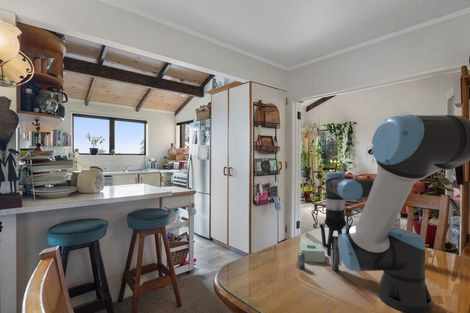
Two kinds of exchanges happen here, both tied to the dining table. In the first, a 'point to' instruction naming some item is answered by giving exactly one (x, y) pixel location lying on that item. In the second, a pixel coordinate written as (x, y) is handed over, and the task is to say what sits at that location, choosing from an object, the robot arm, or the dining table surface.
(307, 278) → the dining table surface
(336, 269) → the long pin
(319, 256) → the hole block
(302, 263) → the short pin
